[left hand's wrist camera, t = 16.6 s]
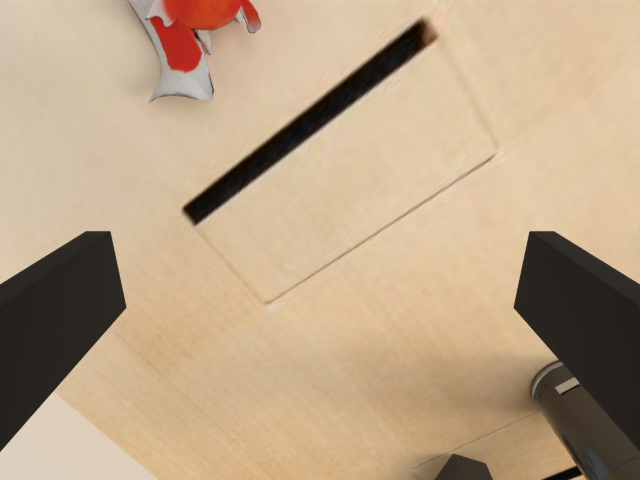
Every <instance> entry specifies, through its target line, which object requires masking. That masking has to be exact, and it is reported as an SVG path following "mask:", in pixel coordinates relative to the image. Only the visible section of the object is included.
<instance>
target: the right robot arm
mask: <svg viewBox="0 0 640 480" xmlns="http://www.w3.org/2000/svg"><path fill="white" fill-rule="evenodd" d="M531 398H532V401H533V402H534V404H535V405H536V407H537V408H538V409H539V410H540V411H541V413H542V414H543V416H544V417H545V419H546V420H547V422H548V423H549V425H550V426H551V428H552V429H553V431H554V432H555V434H556V435H557V437H558V438H559V440H560V441H561V443H562V444H563V446H564V447H565V449H566V450H567V451H568V453H569V454H570V456H571V457H572V459H573V460H574V462H575V463H576V465H577V466H578V468H579V469H580V471H581V472H582V474H583V475H584V477H585V478H586V479H587V480H640V452H639V450H638V449H637V448H636V447H635V446H634V445H633V444H632V442H631V441H630V440H629V439H628V438H627V437H626V436H625V434H624V433H623V432H622V431H621V430H620V429H619V428H618V426H617V425H616V424H615V423H614V422H613V421H612V420H611V418H610V417H609V416H608V415H607V414H606V413H605V412H604V410H603V409H602V408H601V407H600V406H599V405H598V404H597V402H596V401H595V400H594V399H593V398H592V397H591V396H590V394H589V393H588V392H587V391H586V390H585V389H584V388H583V386H582V385H581V384H580V383H579V382H578V381H577V380H576V378H575V377H574V376H573V375H572V374H571V373H570V372H569V370H568V369H567V368H566V367H565V366H564V365H563V364H562V362H561V361H559V362H556V363H553V364H552V365H550V366H548V367H546V368H545V369H544V370H542V371H541V372H540V373H539V374H538V376H537V377H536V378H535V380H534V381H533V384H532V387H531Z"/></svg>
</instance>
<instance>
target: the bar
mask: <svg viewBox="0 0 640 480" xmlns="http://www.w3.org/2000/svg"><path fill="white" fill-rule="evenodd" d="M435 480H493V479H492V477H491V475H490V472H489V470H488V468H487V465H486V464H485V463H481V462H478V461H475V460H472V459H468V458H465V457H462V456H459V455H455V454H453V455H452V457H451V458H450V460H449V461H448V462H447V464H446V465H445V466H444V468H443V469H442V471H441V472H440V473H439V475H438V476H437V478H436V479H435Z"/></svg>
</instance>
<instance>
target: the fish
mask: <svg viewBox="0 0 640 480" xmlns="http://www.w3.org/2000/svg"><path fill="white" fill-rule="evenodd" d="M128 2H129V4H130V5H131V7H132V9H133V10H134V12H135V13H136V15H137V17H138V18H139V20H140V22H141V23H142V25H143V26H144V28H145V30H146V32H147V34H148V35H149V37H150V39H151V41H152V43H153V45H154V46H155V49H156V51H157V54H158V56H159V59H160V62H161V66H162V67H161V76H160V80H159V82H158V84H157V86H156V88H155V90H154V92H153V94H152V97H151V99H150V101H149V103H150V102H151V101H153V100H154V99H156V98H157V97H163V96H184V97H189V98H193V99H197V100H212V96H213V92H214V89H213V85H212V82H211V78H210V74H209V70H208V66H207V62H206V59H205V56H204V52H203V49H202V46H201V43H200V40H199V38H200V39H201V41H202V42H203V44H204V45H205V47H206V49H207V50H208V52H209V54H210V55H211V54H212V51H211V39H210V34H209V30H215V29H218V28H221V27H223V26H225V25H227V24H228V23H230V22H231V21H232V20H233V19H234V18H235V19H236V20H237V21H238V22H241V21H242V19H243V17H244V19H245V21H246V24H247V28H248V31H249V33H255V32H256V31H257V30H258V29H260V27H261V22H260V19H259V17H258V13H257V11H256V9H255V8H254V6H253V5H252V4H251V2H250V1H249V0H128ZM193 29H195V30H197V33H196V32H195V31H194V30H193ZM197 34H198V35H197ZM198 36H199V37H198ZM149 103H148V104H149Z"/></svg>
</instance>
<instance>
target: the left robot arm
mask: <svg viewBox="0 0 640 480" xmlns="http://www.w3.org/2000/svg"><path fill="white" fill-rule="evenodd" d="M125 309H126V303H125V298H124V294H123V289H122V284H121V279H120V274H119V270H118V265H117V260H116V255H115V251H114V246H113V241H112V236H111V232H110V231H86V232H84V233H82V234H81V235H79V236H78V237H76V238H74V239H73V240H71V241H70V242H68V243H66V244H65V245H63V246H61V247H60V248H58V249H57V250H55V251H53V252H52V253H50V254H49V255H47V256H45V257H44V258H42V259H40V260H39V261H37V262H36V263H34V264H32V265H31V266H29V267H28V268H26V269H24V270H23V271H21V272H19V273H18V274H16V275H15V276H13V277H11V278H10V279H8V280H6V281H5V282H3V283H2V284H0V451H1V450H2V449H3V448H4V447H5V446H6V445H7V444H8V442H9V441H10V440H11V439H12V438H13V437H14V436H15V434H16V433H17V432H18V431H19V430H20V429H21V428H22V426H23V425H24V424H25V423H26V422H27V421H28V420H29V418H30V417H31V416H32V415H33V414H34V413H35V412H36V410H37V409H38V408H39V407H40V406H41V405H42V404H43V402H44V401H45V400H46V399H47V398H48V397H49V396H50V394H51V393H52V392H53V391H54V390H55V389H56V388H57V386H58V385H59V384H60V383H61V382H62V381H63V380H64V378H65V377H66V376H67V375H68V374H69V373H70V372H71V370H72V369H73V368H74V367H75V366H76V365H77V364H78V362H79V361H80V360H81V359H82V358H83V357H84V356H85V354H86V353H87V352H88V351H89V350H90V349H91V348H92V346H93V345H94V344H95V343H96V342H97V341H98V340H99V338H100V337H101V336H102V335H103V334H104V333H105V332H106V330H107V329H108V328H109V327H110V326H111V325H112V324H113V322H114V321H115V320H116V319H117V318H118V317H119V316H120V314H121V313H122V312H123V311H124V310H125ZM514 309H515V310H516V311H517V312H518V313H519V314H520V316H521V317H522V318H523V319H524V320H525V321H526V322H527V324H528V325H529V326H530V327H531V328H532V329H533V330H534V332H535V333H536V334H537V335H538V336H539V337H540V338H541V340H542V341H543V342H544V343H545V344H546V345H547V346H548V348H549V349H550V350H551V351H552V352H553V353H554V354H555V356H556V357H557V358H558V359H559V360H560V361H561V362H562V364H563V365H564V366H565V367H566V368H567V369H568V370H569V372H570V373H571V374H572V375H573V376H574V377H575V378H576V380H577V381H578V382H579V383H580V384H581V385H582V386H583V388H584V389H585V390H586V391H587V392H588V393H589V394H590V396H591V397H592V398H593V399H594V400H595V401H596V402H597V404H598V405H599V406H600V407H601V408H602V409H603V410H604V412H605V413H606V414H607V415H608V416H609V417H610V418H611V420H612V421H613V422H614V423H615V424H616V425H617V426H618V428H619V429H620V430H621V431H622V432H623V433H624V434H625V436H626V437H627V438H628V439H629V440H630V441H631V442H632V444H633V445H634V446H635V447H636V448H637V449H638V450H639V452H640V284H638V283H637V282H635V281H634V280H632V279H630V278H629V277H627V276H625V275H624V274H622V273H621V272H619V271H617V270H616V269H614V268H612V267H611V266H609V265H608V264H606V263H604V262H603V261H601V260H600V259H598V258H596V257H595V256H593V255H591V254H590V253H588V252H587V251H585V250H583V249H582V248H580V247H579V246H577V245H575V244H574V243H572V242H570V241H569V240H567V239H566V238H564V237H562V236H561V235H559V234H558V233H556V232H554V231H530V232H529V236H528V241H527V246H526V251H525V255H524V260H523V265H522V270H521V274H520V279H519V284H518V289H517V294H516V298H515V303H514Z"/></svg>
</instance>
